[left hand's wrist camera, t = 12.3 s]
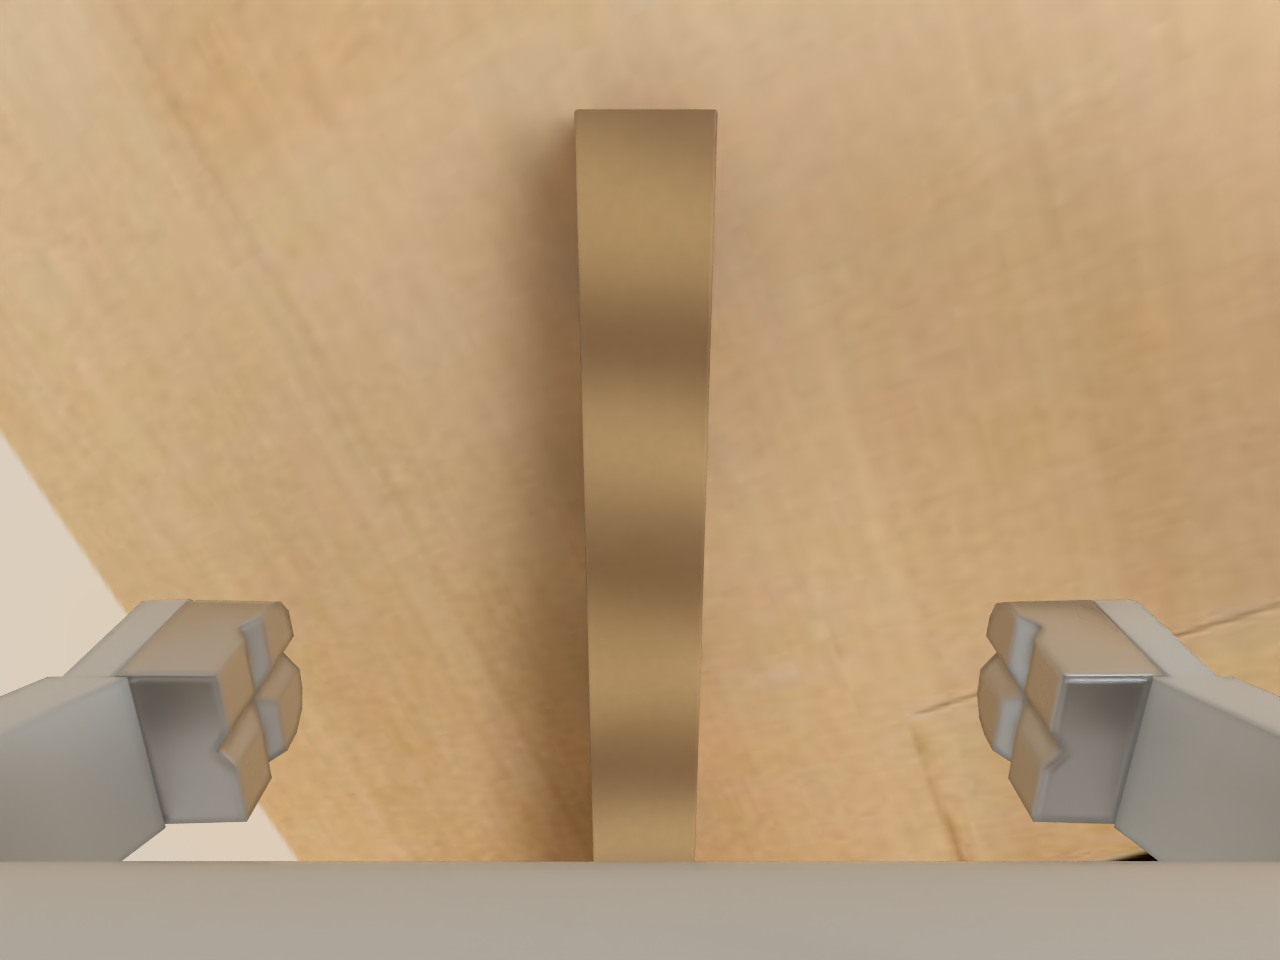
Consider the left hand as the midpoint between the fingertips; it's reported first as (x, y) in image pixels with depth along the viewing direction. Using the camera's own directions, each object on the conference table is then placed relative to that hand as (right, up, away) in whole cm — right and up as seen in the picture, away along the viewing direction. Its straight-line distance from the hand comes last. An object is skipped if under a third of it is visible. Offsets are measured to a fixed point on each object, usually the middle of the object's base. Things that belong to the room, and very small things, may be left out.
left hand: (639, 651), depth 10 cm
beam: (0, -8, +32) cm, 33 cm away
